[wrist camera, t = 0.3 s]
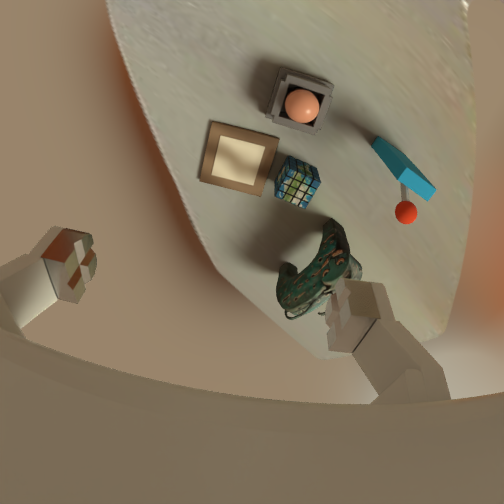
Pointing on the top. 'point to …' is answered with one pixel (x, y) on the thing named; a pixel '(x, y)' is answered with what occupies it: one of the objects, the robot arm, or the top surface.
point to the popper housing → (294, 80)
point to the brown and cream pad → (238, 158)
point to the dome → (301, 105)
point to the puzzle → (296, 182)
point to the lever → (404, 179)
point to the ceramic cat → (317, 274)
